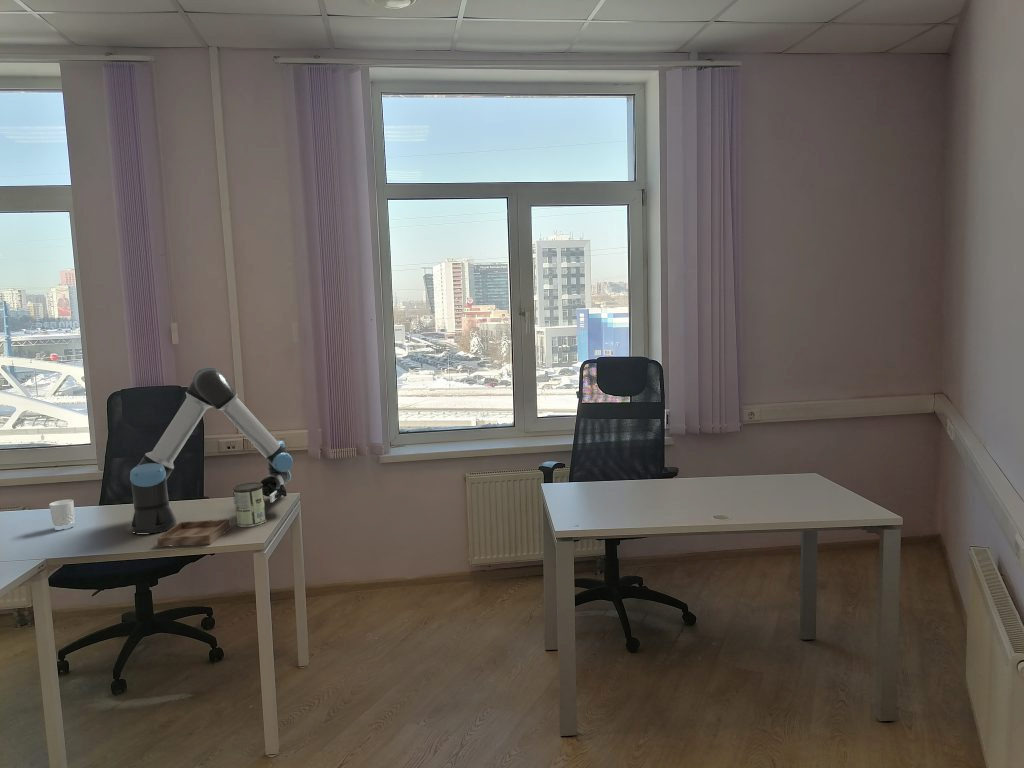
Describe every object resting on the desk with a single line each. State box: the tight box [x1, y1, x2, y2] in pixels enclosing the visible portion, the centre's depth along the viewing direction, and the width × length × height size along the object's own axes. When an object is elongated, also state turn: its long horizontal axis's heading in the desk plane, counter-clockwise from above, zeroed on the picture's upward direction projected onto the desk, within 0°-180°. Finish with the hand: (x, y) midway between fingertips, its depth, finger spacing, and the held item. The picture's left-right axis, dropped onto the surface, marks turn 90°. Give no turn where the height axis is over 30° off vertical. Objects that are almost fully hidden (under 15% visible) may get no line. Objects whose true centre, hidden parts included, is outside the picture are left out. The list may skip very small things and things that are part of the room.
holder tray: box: [156, 519, 231, 547], centre depth 267 cm, size 18×18×3 cm
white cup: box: [48, 499, 76, 526], centre depth 287 cm, size 8×8×10 cm
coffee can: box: [232, 481, 267, 528], centre depth 279 cm, size 10×10×14 cm
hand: (252, 499), depth 281 cm, fingers open, 13 cm apart
